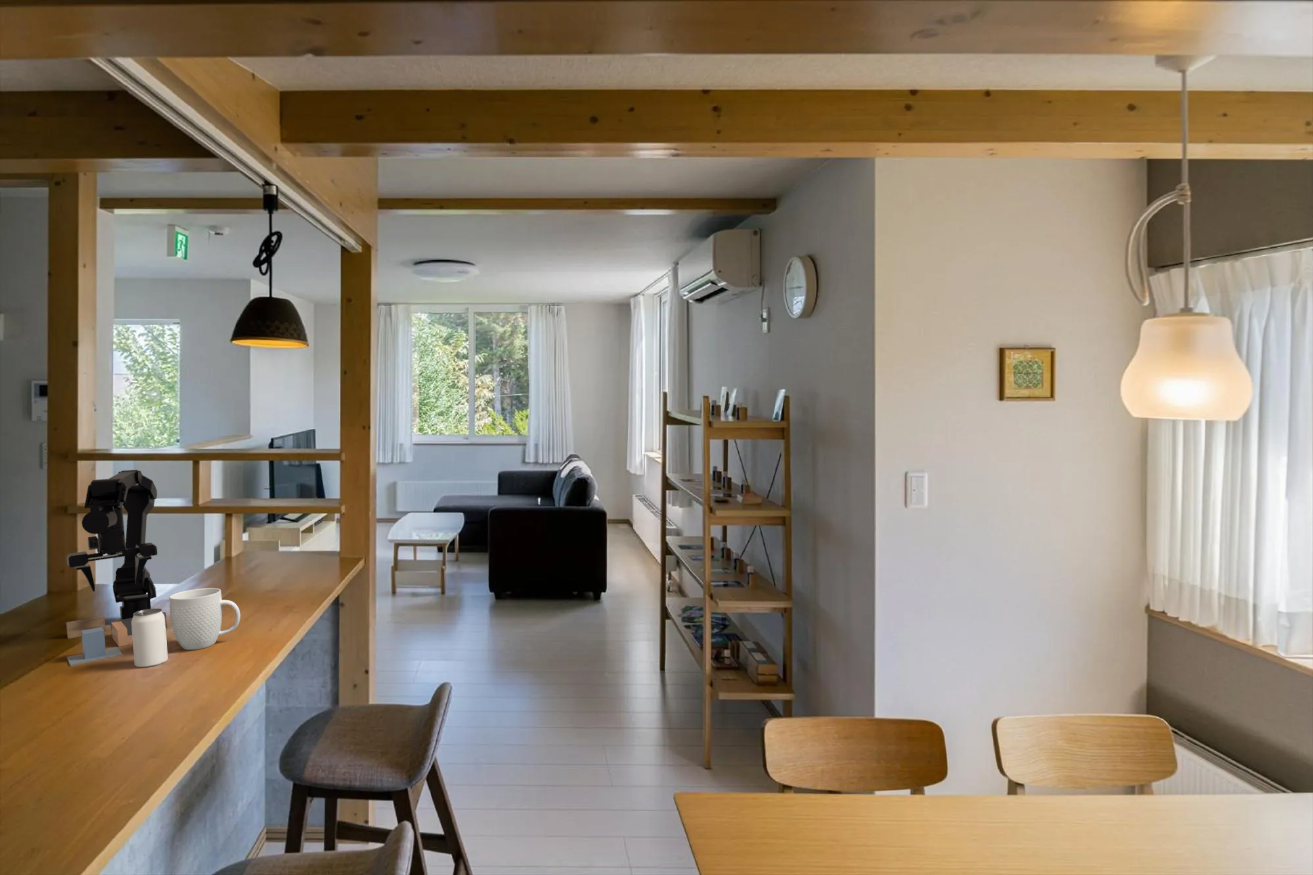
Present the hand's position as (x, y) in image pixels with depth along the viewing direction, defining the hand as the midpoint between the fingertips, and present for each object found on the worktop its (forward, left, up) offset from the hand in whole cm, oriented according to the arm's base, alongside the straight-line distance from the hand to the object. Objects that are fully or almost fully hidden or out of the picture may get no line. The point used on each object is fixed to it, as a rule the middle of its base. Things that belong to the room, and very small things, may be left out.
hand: (115, 587), depth 204 cm
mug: (-14, +26, -13) cm, 32 cm away
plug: (+7, +16, -12) cm, 21 cm away
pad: (+7, +16, -13) cm, 22 cm away
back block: (+6, -10, -13) cm, 17 cm away
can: (-2, +32, -13) cm, 35 cm away
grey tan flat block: (-4, +5, -13) cm, 14 cm away
